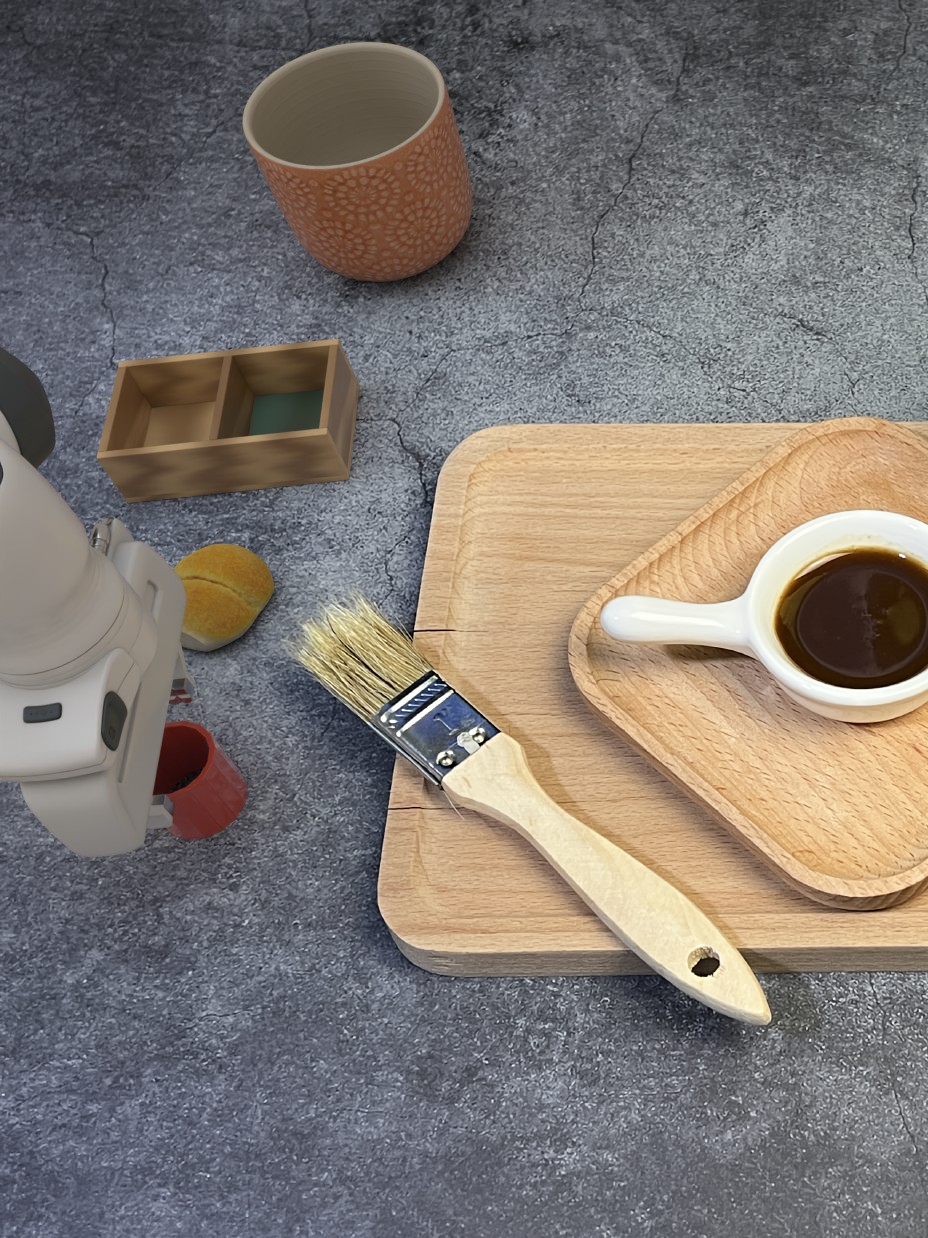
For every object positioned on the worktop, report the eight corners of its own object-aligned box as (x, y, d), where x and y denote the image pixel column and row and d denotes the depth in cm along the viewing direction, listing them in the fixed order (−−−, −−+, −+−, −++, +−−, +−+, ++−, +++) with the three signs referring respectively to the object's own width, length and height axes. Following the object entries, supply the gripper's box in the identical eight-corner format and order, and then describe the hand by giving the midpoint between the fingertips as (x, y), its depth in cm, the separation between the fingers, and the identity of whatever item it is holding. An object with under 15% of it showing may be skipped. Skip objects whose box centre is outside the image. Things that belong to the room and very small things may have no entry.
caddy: (127, 503, 123) (95, 458, 118) (148, 407, 129) (119, 361, 124) (349, 479, 123) (326, 434, 119) (360, 385, 129) (338, 338, 125)
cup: (164, 854, 105) (115, 804, 99) (177, 779, 108) (131, 725, 102) (250, 845, 105) (207, 794, 99) (261, 770, 108) (220, 716, 102)
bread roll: (294, 572, 118) (276, 541, 115) (233, 664, 114) (212, 634, 110) (205, 548, 120) (184, 516, 117) (140, 637, 115) (117, 607, 112)
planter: (272, 238, 140) (207, 98, 128) (431, 158, 146) (383, 16, 133) (359, 336, 133) (299, 198, 120) (523, 248, 138) (482, 107, 125)
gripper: (52, 508, 94) (150, 632, 106) (-20, 796, 83) (99, 900, 94) (152, 496, 94) (239, 621, 106) (94, 782, 83) (199, 888, 94)
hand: (173, 755), depth 100 cm, fingers open, 8 cm apart
